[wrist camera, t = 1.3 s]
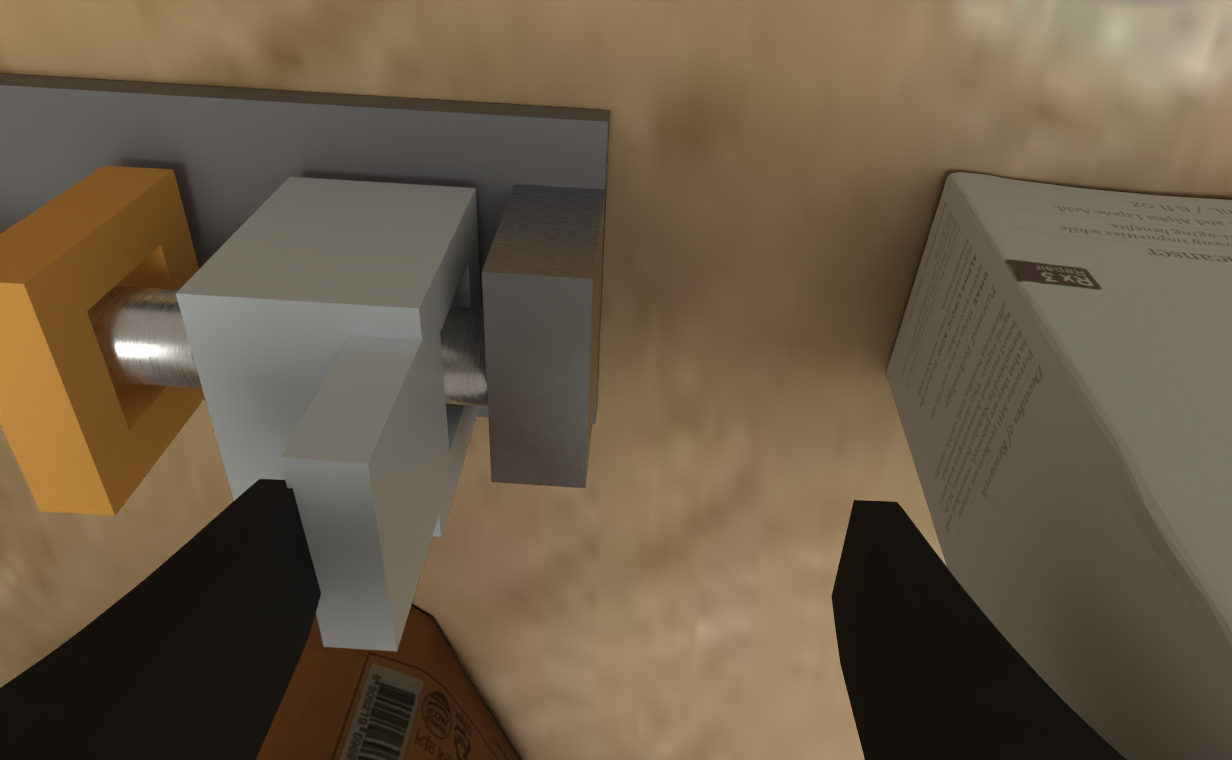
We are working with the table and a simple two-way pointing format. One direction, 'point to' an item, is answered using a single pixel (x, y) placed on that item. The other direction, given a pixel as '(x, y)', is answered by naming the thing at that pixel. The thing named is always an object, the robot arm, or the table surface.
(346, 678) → the pancake mix bag
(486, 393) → the pipe
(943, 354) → the skincare box
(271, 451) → the sleeve
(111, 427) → the orange wooden block
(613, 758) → the table surface
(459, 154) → the board
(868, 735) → the robot arm
